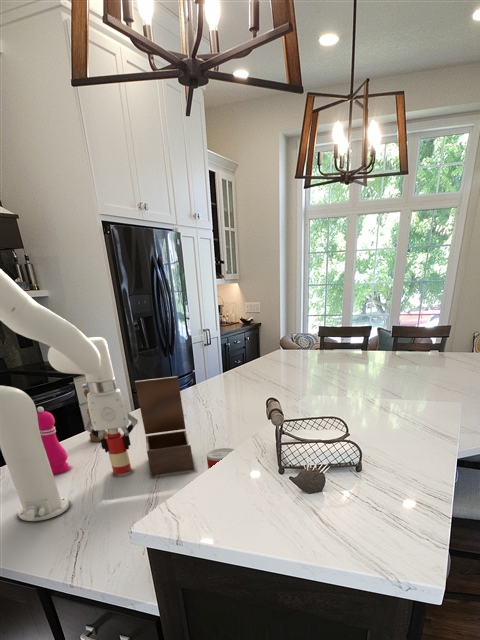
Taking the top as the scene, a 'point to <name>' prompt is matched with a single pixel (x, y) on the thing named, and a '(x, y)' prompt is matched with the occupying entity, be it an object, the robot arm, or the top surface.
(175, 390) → the bread box lid
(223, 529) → the top surface
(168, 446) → the bread box
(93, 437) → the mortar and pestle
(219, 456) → the canned food
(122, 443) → the ketchup bottle
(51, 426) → the pepper mill
